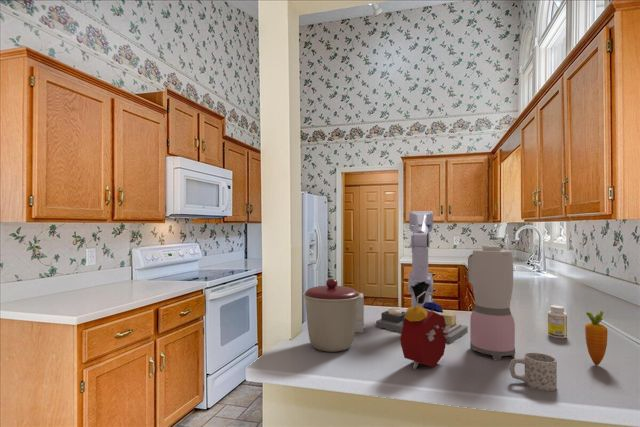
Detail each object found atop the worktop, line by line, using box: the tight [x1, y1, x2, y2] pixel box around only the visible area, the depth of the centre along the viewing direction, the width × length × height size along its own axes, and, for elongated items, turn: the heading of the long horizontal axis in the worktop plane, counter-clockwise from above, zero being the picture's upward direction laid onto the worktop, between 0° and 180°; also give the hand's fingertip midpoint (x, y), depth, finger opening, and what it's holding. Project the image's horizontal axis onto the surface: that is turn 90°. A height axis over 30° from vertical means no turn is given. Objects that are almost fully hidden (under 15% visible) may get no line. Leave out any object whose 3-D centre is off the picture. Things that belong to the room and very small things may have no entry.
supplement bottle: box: [547, 305, 568, 339], centre depth 126 cm, size 6×6×10 cm
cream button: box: [387, 308, 403, 315], centre depth 139 cm, size 5×5×2 cm
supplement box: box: [355, 292, 365, 334], centre depth 132 cm, size 7×7×13 cm
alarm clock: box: [399, 291, 451, 370], centre depth 100 cm, size 15×9×20 cm, turn 133°
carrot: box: [584, 310, 608, 367], centre depth 101 cm, size 5×5×15 cm
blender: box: [467, 245, 516, 361], centre depth 112 cm, size 16×12×32 cm
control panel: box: [375, 310, 469, 344], centre depth 133 cm, size 16×28×4 cm, turn 50°
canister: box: [302, 278, 361, 353], centre depth 114 cm, size 18×18×21 cm
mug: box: [509, 352, 558, 392], centre depth 89 cm, size 10×7×7 cm
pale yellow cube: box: [440, 312, 457, 328], centre depth 129 cm, size 4×4×4 cm
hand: (419, 303), depth 133 cm, fingers closed
